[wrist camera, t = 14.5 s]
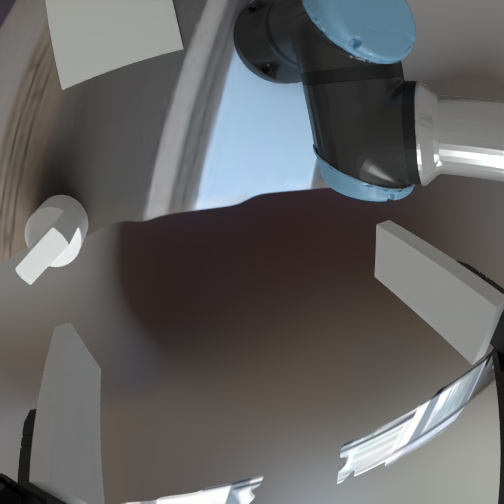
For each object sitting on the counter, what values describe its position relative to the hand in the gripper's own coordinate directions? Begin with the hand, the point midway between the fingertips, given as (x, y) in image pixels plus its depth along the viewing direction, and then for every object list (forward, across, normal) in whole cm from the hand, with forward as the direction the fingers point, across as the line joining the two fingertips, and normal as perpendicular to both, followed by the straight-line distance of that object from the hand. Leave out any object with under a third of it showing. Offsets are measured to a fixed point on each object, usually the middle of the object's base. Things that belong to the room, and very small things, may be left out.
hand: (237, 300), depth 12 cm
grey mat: (+37, +4, -24) cm, 44 cm away
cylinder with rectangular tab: (+37, +19, +5) cm, 42 cm away
